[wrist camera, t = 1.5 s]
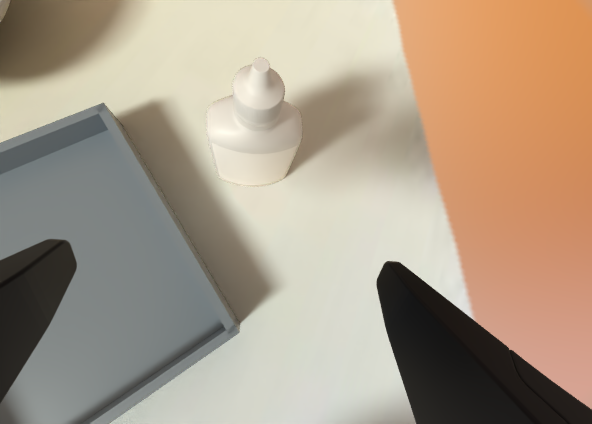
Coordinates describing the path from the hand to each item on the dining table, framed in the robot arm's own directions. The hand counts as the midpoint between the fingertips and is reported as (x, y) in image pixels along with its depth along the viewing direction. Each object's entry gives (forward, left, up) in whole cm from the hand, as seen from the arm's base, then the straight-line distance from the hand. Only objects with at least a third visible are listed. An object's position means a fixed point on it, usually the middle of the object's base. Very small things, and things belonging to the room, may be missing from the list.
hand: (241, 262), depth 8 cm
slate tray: (+5, +10, -13) cm, 18 cm away
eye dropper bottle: (+6, -5, -14) cm, 16 cm away
